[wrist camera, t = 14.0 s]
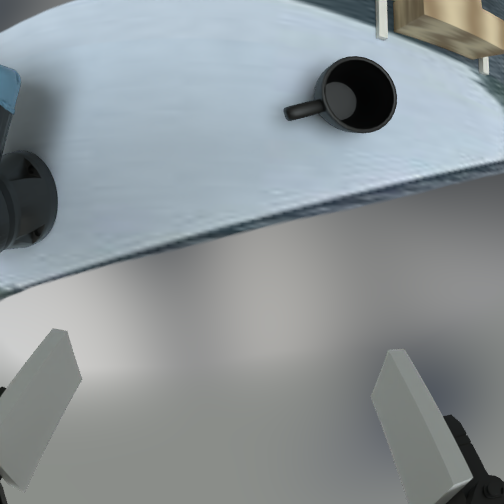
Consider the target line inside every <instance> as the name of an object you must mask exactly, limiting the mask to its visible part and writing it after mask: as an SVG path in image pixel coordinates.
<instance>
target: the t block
mask: <svg viewBox="0 0 504 504" xmlns="http://www.w3.org/2000/svg"><path fill="white" fill-rule="evenodd" d="M393 10H394V32H396V33H400V34H403V35H407V36H410V37H413V38H416V39H419V40H422V41H425V42H428V43H431V44H434V45H437V46H439V47H442V48H445V49H447V50H450V51H452V52H455V53H457V54H460V55H462V56H465V57H467V58H469V59H477V58H483V57H488V56H493V55H499V54H504V21H503V20H501V19H500V18H498V17H496V16H494V15H493V14H491V13H489V12H487V11H485V10H484V9H482V4H481V0H396V1H395V2H394V3H393Z"/></svg>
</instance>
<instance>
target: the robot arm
mask: <svg viewBox="0 0 504 504" xmlns="http://www.w3.org/2000/svg"><path fill="white" fill-rule="evenodd" d="M20 85H21V79H20V76H19V74H18V72H17V71H15V70H14V69H11V68H8V67H5V66H3V65H0V252H2V251H3V250H5V249H15V248H25V247H29V246H32V245H34V244H35V243H37V242H39V241H40V240H42V239H43V238H44V237H45V236H46V235H47V234H48V233H49V231H50V230H51V228H52V226H53V224H54V221H55V217H56V212H57V193H56V187H55V183H54V180H53V178H52V175H51V173H50V171H49V169H48V168H47V166H46V165H45V163H44V162H43V161H42V160H41V159H40V158H39V157H37V156H36V155H34V154H33V153H30V152H27V151H16V152H12V153H8V154H5V155H3V156H2V153H3V149H4V145H5V141H6V137H7V133H8V129H9V126H10V122H11V119H12V115H13V114H14V113H15V109H14V107H15V103H16V99H17V96H18V92H19V89H20ZM81 380H82V377H81V374H80V371H79V368H78V365H77V362H76V359H75V356H74V353H73V349H72V346H71V343H70V340H69V336H68V332H67V331H64V330H58V329H52V330H51V332H50V333H49V334H48V335H47V336H46V338H45V339H44V340H43V341H42V343H41V344H40V345H39V346H38V348H37V349H36V350H35V351H34V353H33V354H32V355H31V357H30V358H29V359H28V360H27V362H26V363H25V364H24V366H23V367H22V368H21V370H20V371H19V372H18V374H17V375H16V376H15V378H14V379H13V380H12V382H11V383H10V384H9V386H8V387H7V388H4V387H1V388H0V480H1V478H3V479H4V480H5V481H6V482H7V483H8V484H9V485H10V486H12V487H14V488H16V489H18V490H20V491H22V492H26V489H27V487H28V485H29V483H30V480H31V478H32V476H33V474H34V472H35V469H36V467H37V465H38V463H39V461H40V459H41V457H42V455H43V453H44V451H45V449H46V447H47V445H48V442H49V441H50V439H51V436H52V434H53V432H54V431H55V429H56V427H57V425H58V423H59V421H60V419H61V417H62V415H63V413H64V411H65V410H66V408H67V406H68V404H69V402H70V400H71V399H72V397H73V395H74V393H75V391H76V389H77V388H78V386H79V384H80V382H81ZM371 399H372V402H373V405H374V407H375V410H376V412H377V415H378V418H379V420H380V423H381V426H382V428H383V431H384V434H385V437H386V440H387V442H388V445H389V448H390V451H391V454H392V457H393V459H394V462H395V465H396V468H397V471H398V474H399V477H400V480H401V483H402V486H403V489H404V492H405V495H406V498H407V501H408V504H504V482H503V481H502V480H501V479H500V478H498V477H496V476H492V475H488V473H487V472H486V470H485V468H484V466H483V464H482V462H481V460H480V458H479V456H478V454H477V453H476V451H475V449H474V447H473V445H472V444H471V443H470V442H471V441H470V439H469V438H468V436H466V432H465V430H464V428H463V427H462V425H461V423H460V422H459V421H458V420H456V419H455V418H454V417H453V416H452V415H447V416H442V414H441V412H440V411H439V409H438V407H437V405H436V403H435V401H434V400H433V398H432V396H431V394H430V392H429V391H428V389H427V387H426V385H425V384H424V382H423V380H422V378H421V377H420V375H419V373H418V371H417V370H416V368H415V366H414V365H413V363H412V361H411V359H410V358H409V356H408V355H407V353H406V351H405V349H396V350H388V352H387V355H386V358H385V361H384V363H383V366H382V369H381V372H380V374H379V377H378V379H377V382H376V385H375V387H374V390H373V392H372V395H371ZM0 504H7V501H6V497H5V494H4V490H3V487H2V485H1V483H0Z"/></svg>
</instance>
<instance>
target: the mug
mask: <svg viewBox="0 0 504 504" xmlns="http://www.w3.org/2000/svg"><path fill="white" fill-rule="evenodd" d="M314 99H315V100H313V101H309V102H305V103H301V104H297V105H293V106H289V107H286V108H285V109H284V114H285V117H286V119H287V120H288V121H292V120H296V119H300V118H304V117H308V116H311V115H315V114H319V113H320V115H321V116H322V117H323V118H324V119H325V120H326V121H327V122H328V123H329V124H330V125H332V126H334V127H336V128H337V129H340V130H343V131H346V132H353V133H370V132H374V131H376V130H379V129H381V128H382V127H384V126H385V125H386V124H387V123H388V122H389V121H390V120H391V118H392V116H393V114H394V112H395V109H396V105H397V94H396V89H395V86H394V83H393V81H392V79H391V77H390V76H389V74H388V73H387V72H386V71H385V70H384V69H383V68H382V67H381V66H380V65H379V64H377V63H376V62H374V61H372V60H370V59H367V58H364V57H358V56H352V57H346V58H342V59H340V60H338V61H336V62H335V63H333V64H332V65H330V66H329V67H328V68H327V69H326V70H325V71H324V72H323V73H322V74H321V76H320V78H319V79H318V81H317V83H316V87H315V93H314Z"/></svg>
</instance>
